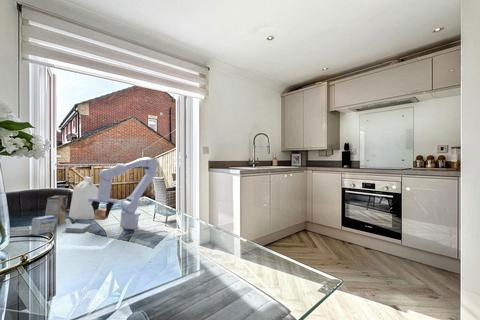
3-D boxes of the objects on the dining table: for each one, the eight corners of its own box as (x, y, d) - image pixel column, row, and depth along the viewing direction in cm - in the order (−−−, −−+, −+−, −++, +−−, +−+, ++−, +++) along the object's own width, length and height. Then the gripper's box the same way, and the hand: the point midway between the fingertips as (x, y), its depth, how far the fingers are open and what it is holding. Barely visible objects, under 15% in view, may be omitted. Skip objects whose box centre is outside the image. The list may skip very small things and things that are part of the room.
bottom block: (92, 231, 126) (93, 227, 126) (83, 237, 116) (83, 233, 116) (72, 230, 125) (72, 226, 125) (61, 236, 115) (61, 232, 115)
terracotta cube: (108, 217, 129) (109, 208, 129) (104, 219, 124) (105, 210, 124) (98, 217, 128) (99, 208, 128) (94, 219, 123) (95, 210, 123)
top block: (90, 227, 125) (90, 224, 125) (82, 232, 117) (82, 228, 117) (74, 226, 124) (74, 223, 124) (65, 231, 116) (65, 227, 116)
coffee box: (52, 223, 130) (56, 194, 131) (65, 223, 132) (68, 195, 132) (43, 227, 122) (46, 197, 122) (57, 228, 123) (60, 198, 123)
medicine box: (37, 237, 108) (39, 219, 108) (29, 236, 109) (32, 217, 109) (54, 233, 116) (56, 216, 116) (46, 231, 117) (48, 214, 117)
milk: (97, 218, 149) (102, 178, 149) (77, 220, 139) (82, 178, 140) (88, 214, 155) (92, 176, 156) (68, 216, 146) (73, 175, 146)
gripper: (86, 190, 121) (83, 216, 121) (115, 193, 124) (112, 218, 123) (92, 189, 128) (89, 213, 128) (120, 191, 130) (117, 215, 130)
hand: (101, 215), depth 126 cm, fingers closed on terracotta cube, 5 cm apart
